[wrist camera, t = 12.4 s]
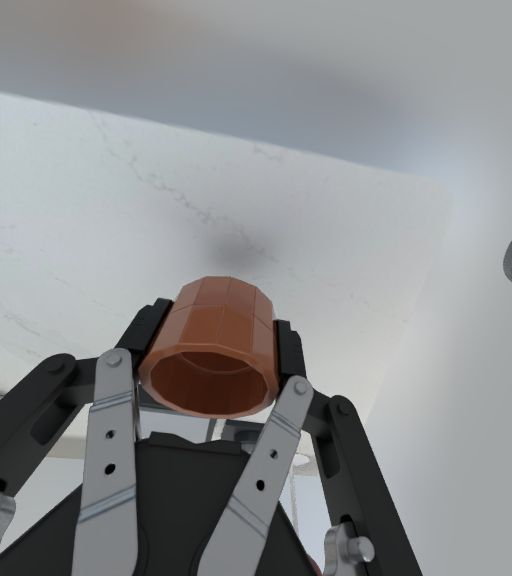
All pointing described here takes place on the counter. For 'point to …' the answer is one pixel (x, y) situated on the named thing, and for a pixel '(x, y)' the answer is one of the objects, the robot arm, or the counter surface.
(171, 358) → the copper hollow cylinder
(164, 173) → the counter surface
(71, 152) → the counter surface
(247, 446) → the button
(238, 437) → the block
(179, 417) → the scale
